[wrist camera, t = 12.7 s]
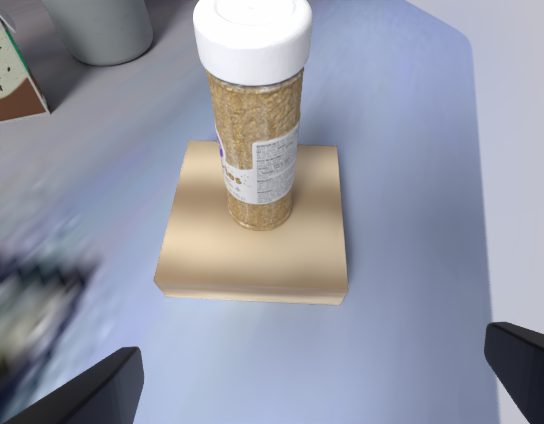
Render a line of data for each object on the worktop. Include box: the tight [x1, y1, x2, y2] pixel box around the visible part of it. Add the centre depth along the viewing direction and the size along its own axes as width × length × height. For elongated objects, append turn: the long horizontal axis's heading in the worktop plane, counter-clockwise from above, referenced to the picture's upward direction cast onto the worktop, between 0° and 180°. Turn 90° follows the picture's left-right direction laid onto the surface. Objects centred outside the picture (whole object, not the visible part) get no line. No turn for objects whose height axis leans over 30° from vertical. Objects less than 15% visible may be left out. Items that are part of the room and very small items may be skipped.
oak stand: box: [153, 141, 348, 305], centre depth 25 cm, size 12×12×3 cm
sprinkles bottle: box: [193, 0, 312, 231], centre depth 18 cm, size 5×5×14 cm
